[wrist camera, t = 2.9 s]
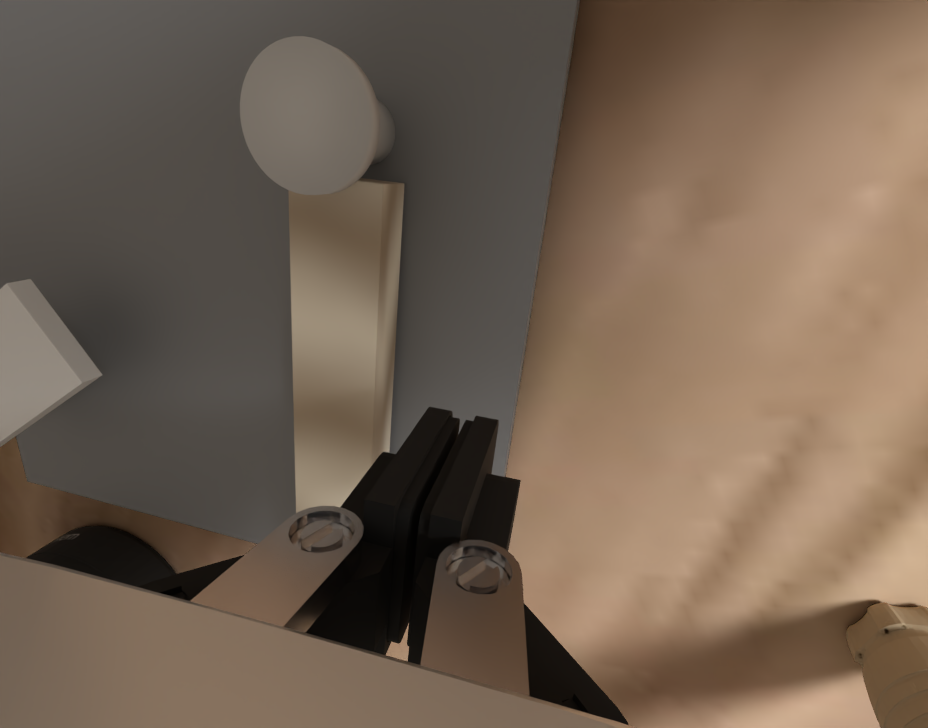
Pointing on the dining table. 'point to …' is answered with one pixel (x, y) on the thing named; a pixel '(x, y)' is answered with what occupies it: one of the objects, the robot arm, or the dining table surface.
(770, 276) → the dining table surface
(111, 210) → the board
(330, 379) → the link
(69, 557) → the pen holder
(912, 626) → the handle
